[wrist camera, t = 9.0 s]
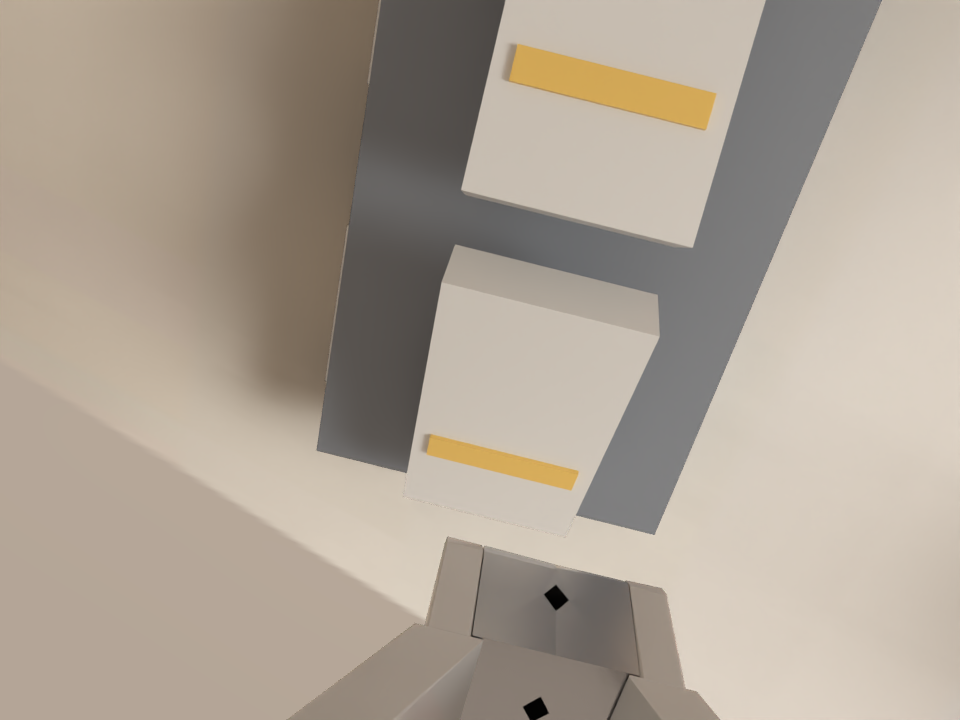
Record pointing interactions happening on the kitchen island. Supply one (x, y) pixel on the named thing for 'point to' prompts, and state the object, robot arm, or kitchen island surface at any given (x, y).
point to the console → (564, 234)
